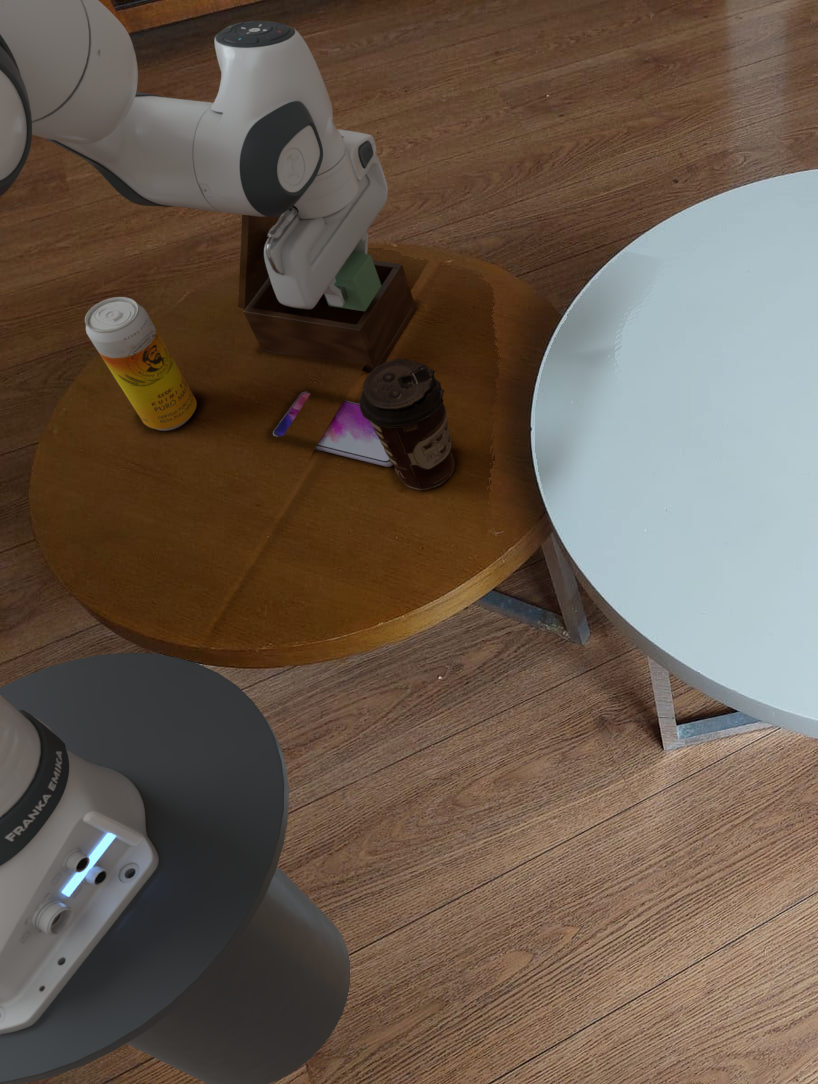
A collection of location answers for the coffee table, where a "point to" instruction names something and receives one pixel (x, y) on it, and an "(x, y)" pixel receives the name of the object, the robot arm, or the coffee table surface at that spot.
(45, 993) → the robot arm
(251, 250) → the lid
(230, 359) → the coffee table surface
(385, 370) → the coffee cup
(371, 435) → the purple white flat pieces
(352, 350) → the chest
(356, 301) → the block
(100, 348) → the beer can
